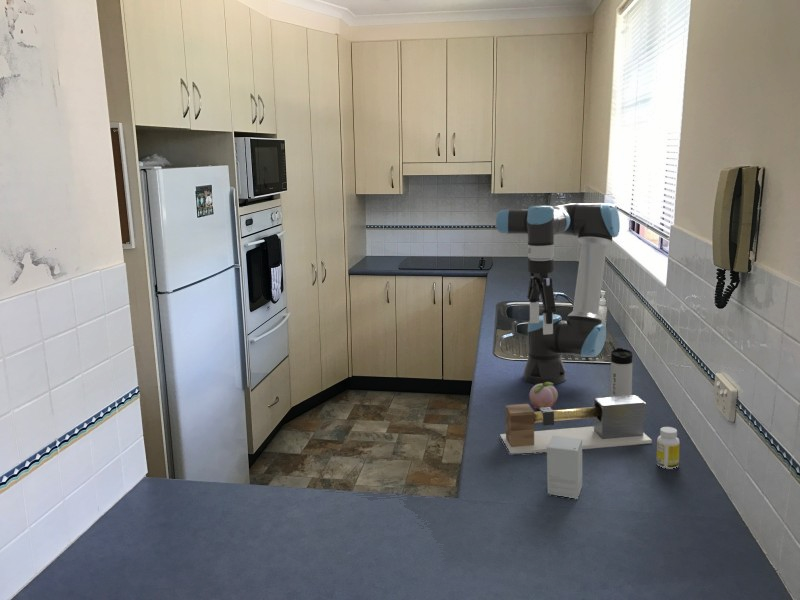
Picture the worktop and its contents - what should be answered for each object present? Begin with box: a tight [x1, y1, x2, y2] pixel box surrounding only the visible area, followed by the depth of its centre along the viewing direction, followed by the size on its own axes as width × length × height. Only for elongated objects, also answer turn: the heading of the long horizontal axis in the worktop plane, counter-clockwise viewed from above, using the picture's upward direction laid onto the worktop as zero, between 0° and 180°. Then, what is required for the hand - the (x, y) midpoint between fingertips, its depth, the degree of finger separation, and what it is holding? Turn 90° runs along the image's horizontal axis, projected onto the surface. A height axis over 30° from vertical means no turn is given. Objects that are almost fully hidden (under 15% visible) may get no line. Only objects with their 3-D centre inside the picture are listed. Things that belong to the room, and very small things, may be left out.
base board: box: [499, 425, 653, 454], centre depth 186 cm, size 12×40×1 cm, turn 95°
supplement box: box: [546, 435, 583, 500], centre depth 157 cm, size 7×7×13 cm
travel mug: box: [609, 347, 633, 397], centre depth 202 cm, size 6×7×20 cm
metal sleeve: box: [593, 394, 647, 439], centre depth 186 cm, size 6×13×10 cm, turn 95°
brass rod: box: [534, 406, 601, 427], centre depth 184 cm, size 4×26×4 cm, turn 95°
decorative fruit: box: [528, 381, 559, 411], centre depth 207 cm, size 9×8×10 cm
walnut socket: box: [505, 403, 535, 447], centre depth 183 cm, size 6×6×10 cm
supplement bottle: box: [656, 426, 681, 470], centre depth 168 cm, size 5×5×10 cm
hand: (541, 328), depth 197 cm, fingers open, 13 cm apart
